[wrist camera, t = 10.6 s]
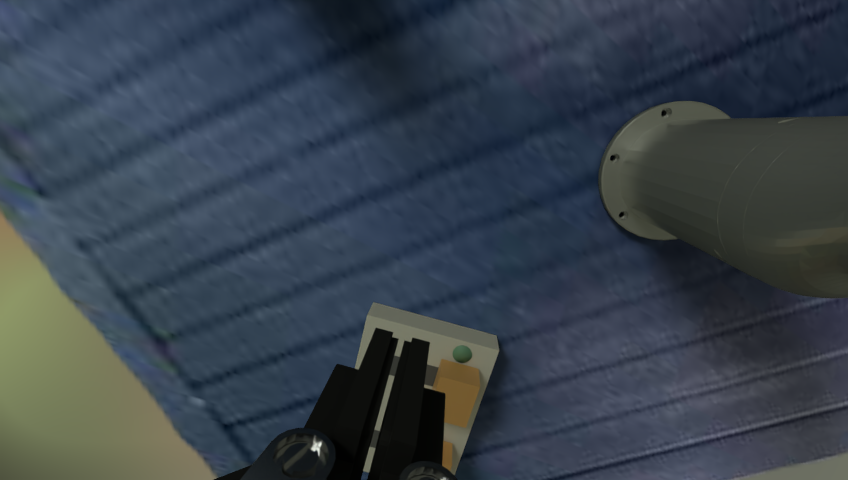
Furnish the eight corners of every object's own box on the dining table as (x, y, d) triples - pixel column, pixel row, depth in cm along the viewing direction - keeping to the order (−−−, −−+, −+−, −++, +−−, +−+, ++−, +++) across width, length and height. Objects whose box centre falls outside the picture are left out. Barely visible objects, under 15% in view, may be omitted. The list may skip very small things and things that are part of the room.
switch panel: (496, 335, 43) (499, 351, 40) (448, 472, 49) (447, 494, 46) (373, 302, 43) (367, 315, 40) (340, 442, 49) (332, 463, 46)
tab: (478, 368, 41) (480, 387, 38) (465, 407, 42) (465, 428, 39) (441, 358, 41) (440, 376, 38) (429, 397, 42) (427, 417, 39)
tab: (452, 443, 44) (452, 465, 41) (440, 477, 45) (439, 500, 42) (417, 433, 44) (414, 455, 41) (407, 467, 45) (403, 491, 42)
